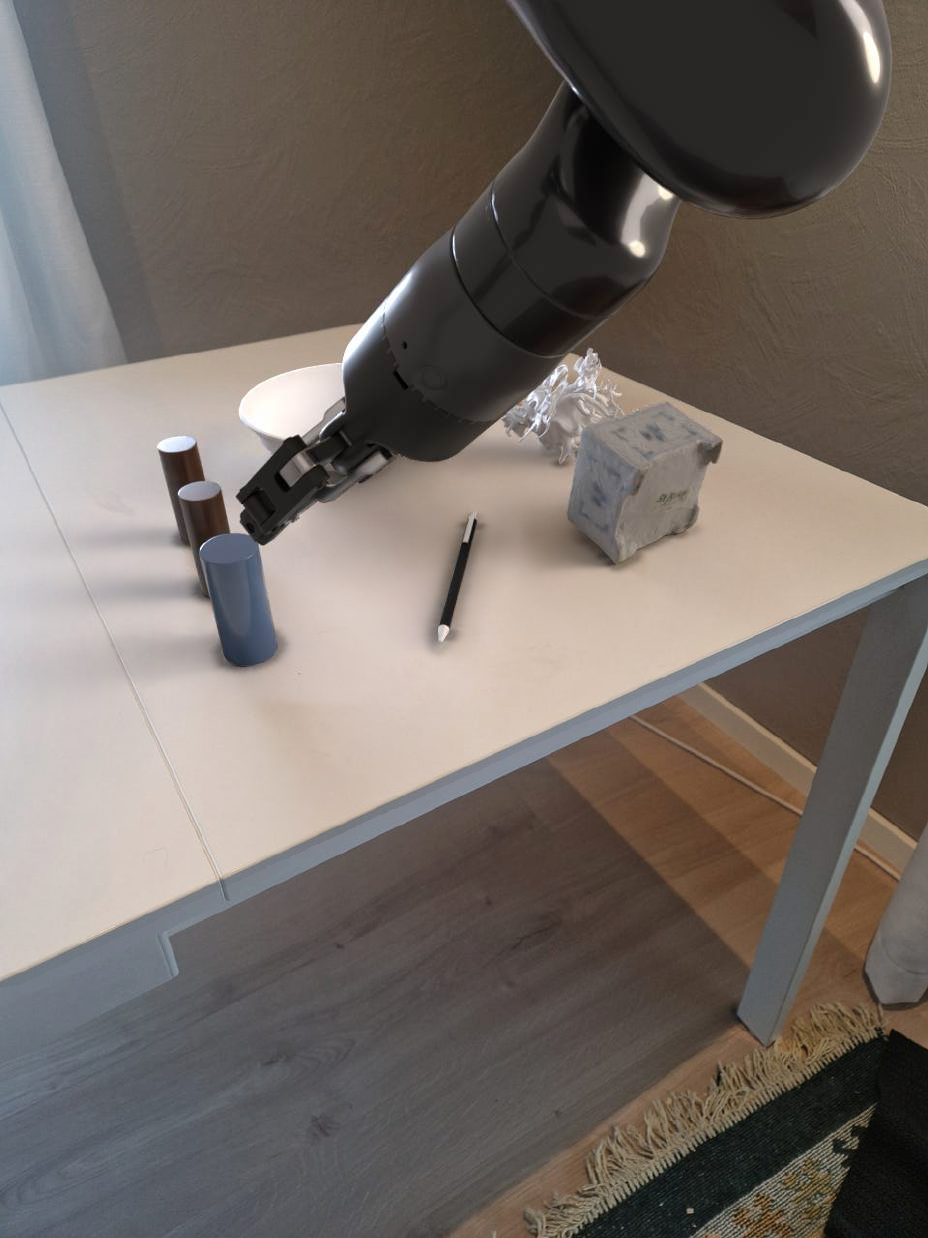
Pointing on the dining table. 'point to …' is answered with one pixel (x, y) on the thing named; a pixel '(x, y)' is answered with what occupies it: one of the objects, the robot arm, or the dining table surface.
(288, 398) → the bowl
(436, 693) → the dining table surface
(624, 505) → the incense holder
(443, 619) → the pen
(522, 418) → the figurine
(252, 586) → the cylinder
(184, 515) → the pegs
